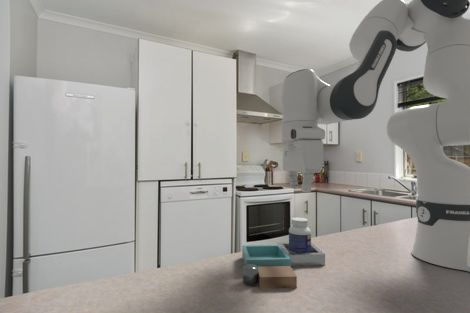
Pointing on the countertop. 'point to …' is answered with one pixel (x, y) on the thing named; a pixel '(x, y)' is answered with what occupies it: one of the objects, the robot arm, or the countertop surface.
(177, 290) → the countertop surface
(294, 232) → the pill bottle
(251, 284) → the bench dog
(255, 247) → the tray
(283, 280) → the tan cardboard-like brick
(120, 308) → the countertop surface
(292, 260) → the collar
